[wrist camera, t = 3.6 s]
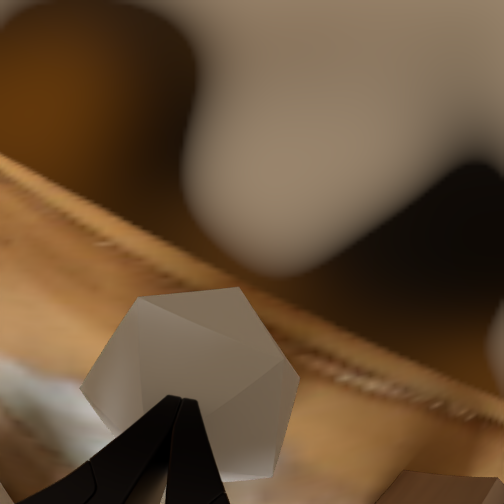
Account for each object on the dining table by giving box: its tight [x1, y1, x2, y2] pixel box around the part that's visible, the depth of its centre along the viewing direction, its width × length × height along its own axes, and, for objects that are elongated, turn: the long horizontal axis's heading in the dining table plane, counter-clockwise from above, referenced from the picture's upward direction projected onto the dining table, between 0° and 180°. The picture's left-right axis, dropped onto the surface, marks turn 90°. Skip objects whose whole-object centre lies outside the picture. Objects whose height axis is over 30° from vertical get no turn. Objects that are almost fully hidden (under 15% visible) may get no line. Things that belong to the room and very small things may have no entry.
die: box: [80, 287, 300, 482], centre depth 12 cm, size 8×9×10 cm
